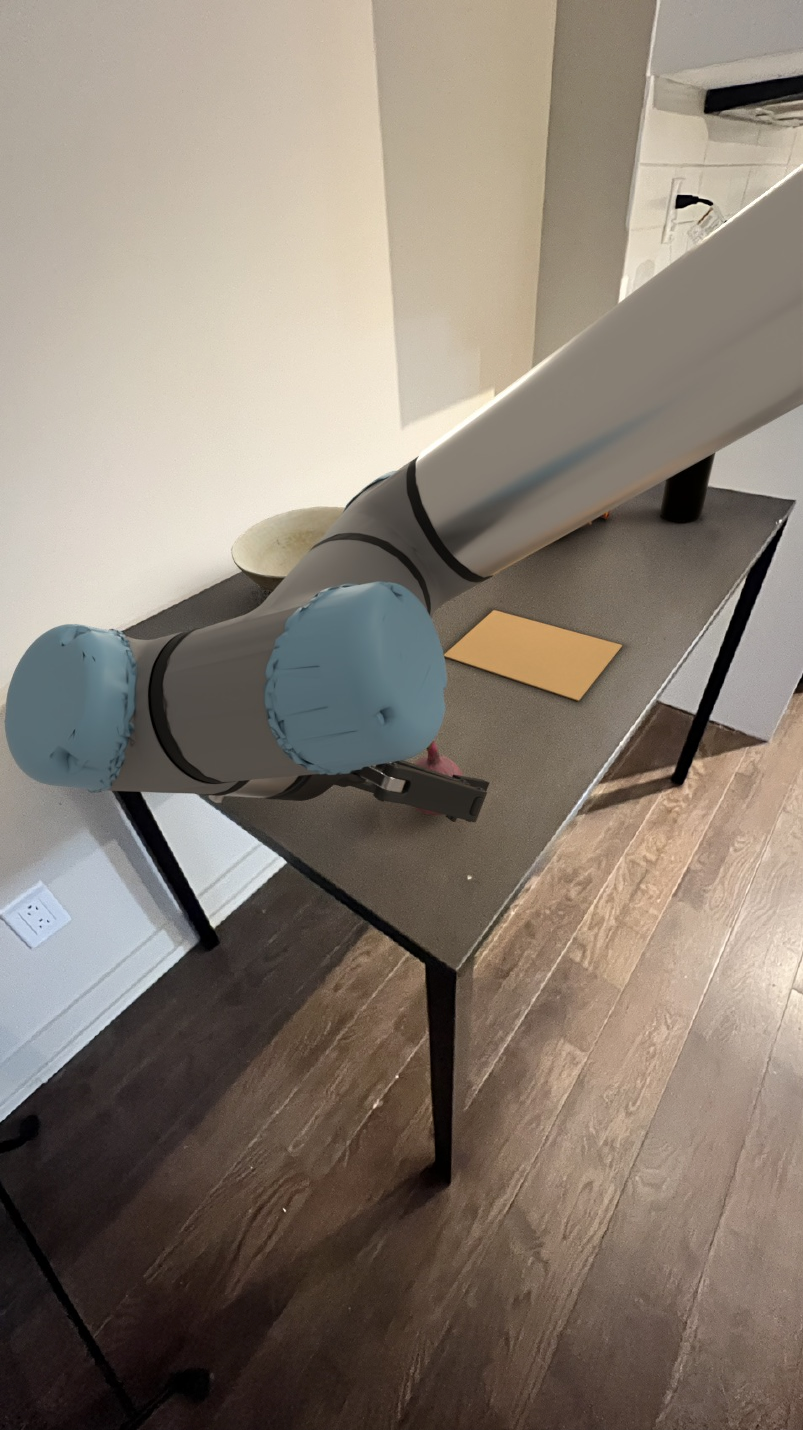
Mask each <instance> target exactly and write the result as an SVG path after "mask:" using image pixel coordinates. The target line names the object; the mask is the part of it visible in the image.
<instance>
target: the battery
mask: <svg viewBox="0 0 803 1430" xmlns="http://www.w3.org/2000/svg"><path fill="white" fill-rule="evenodd" d="M716 453H717V452H715V453H713V454H712V455H710V456H708V457H706V458H704V459H703V460H701V461H699V462H697V463H695V464H694V465H692V466H690V467H688V468H686V469H684V470H683V471H681V472H679V473H677V474H675V475H674V476H672V477H670V478H668V479H666V480H665V482H664V489H663V494H662V500H661V504H660V505H661V506H660V511H659V514H660V516H661V517H663V518H664V519H666V520H669V521H673V522H683V523H684V522H692V521H696V520H698V519H700V518H701V516H702V514H703V510H704V505H705V501H706V496H707V492H708V488H709V484H710V479H711V478H710V477H711V474H712V470H713V467H714V462H715V457H716Z"/></svg>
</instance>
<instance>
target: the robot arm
mask: <svg viewBox="0 0 803 1430" xmlns="http://www.w3.org/2000/svg"><path fill="white" fill-rule="evenodd" d="M800 406H803V163H802V164H801V165H800V166H799V167H797V168H795V169H794V170H793V171H792V172H790V173H789V174H788V175H787V176H785V177H784V178H783V179H781V180H780V181H778V182H777V183H776V184H774V185H773V186H772V187H771V188H769V189H768V190H766V191H765V192H764V193H763V194H761V195H760V196H759V197H757V198H756V199H754V200H753V201H752V202H751V203H750V204H748V205H747V206H745V207H744V208H742V209H741V210H739V212H738V213H736V214H735V215H733V217H731V218H729V219H728V220H727V221H725V222H724V223H723V224H722V225H720V226H719V227H718V228H716V229H715V230H714V231H712V232H711V233H709V234H708V235H707V236H705V238H703V239H701V240H700V241H699V242H697V243H696V244H695V245H694V246H693V247H691V248H690V249H688V250H687V251H686V252H684V253H683V254H682V255H680V256H679V257H677V258H676V259H675V260H674V261H673V262H671V263H670V264H669V265H666V267H664V268H663V269H662V270H661V271H659V272H658V273H657V274H656V275H654V276H652V277H651V278H650V279H649V280H647V281H646V282H645V283H644V284H642V285H641V286H639V287H638V288H637V289H636V290H634V291H633V292H632V293H630V294H629V295H628V296H626V297H625V298H624V299H622V300H620V302H618V303H617V304H616V305H614V306H613V307H612V308H610V309H609V310H608V311H606V312H605V313H604V314H602V315H601V316H600V317H598V318H597V319H596V320H594V321H593V322H591V324H589V325H588V326H587V327H585V328H584V329H583V330H581V331H580V332H578V333H577V334H576V335H575V336H573V337H572V338H570V339H568V341H566V342H565V343H564V344H563V345H561V346H560V347H559V348H557V349H556V350H554V352H552V353H551V354H549V355H548V356H546V357H545V358H544V359H543V360H541V361H540V362H538V363H537V364H536V365H535V366H533V367H532V368H531V369H529V370H528V371H527V372H525V373H524V374H523V375H521V376H520V377H519V378H518V379H516V380H515V381H514V382H512V383H511V384H509V385H508V386H507V387H506V388H504V389H503V390H501V391H500V392H499V393H498V394H496V395H495V396H494V397H492V398H491V399H490V400H489V401H487V402H486V403H484V404H483V405H482V406H481V407H479V408H478V409H476V410H475V411H474V412H473V413H471V414H470V415H468V416H467V417H466V418H464V419H463V420H462V421H460V422H459V423H458V424H457V425H455V426H454V427H453V428H451V429H450V430H449V431H447V432H446V433H445V434H443V435H442V436H441V437H439V438H438V439H437V440H435V441H434V442H433V443H432V444H430V445H428V446H427V447H426V448H424V449H423V450H422V451H420V453H419V455H418V456H416V457H415V458H413V459H411V460H410V461H408V463H405V464H404V465H403V466H402V467H400V468H399V469H398V470H392V471H388V472H387V473H384V474H382V475H380V476H379V477H378V478H376V479H374V480H373V481H371V482H370V483H369V484H367V485H366V486H364V487H363V488H362V489H361V490H360V491H359V492H358V493H357V494H356V495H354V496H353V497H352V498H351V499H350V500H349V501H348V502H347V503H346V505H345V507H344V508H345V509H344V511H343V513H342V514H341V516H340V517H339V518H338V519H337V521H336V522H335V523H334V524H333V525H332V526H331V528H330V529H329V530H328V531H327V532H326V533H325V535H324V536H323V537H322V538H321V539H320V541H319V542H318V543H317V544H316V545H314V546H313V547H312V549H311V550H310V551H309V552H308V553H307V554H306V555H305V556H304V557H303V558H302V559H301V560H300V562H299V563H298V564H297V565H296V566H295V567H294V568H293V569H292V571H291V572H290V573H289V574H288V575H287V576H286V577H285V578H284V580H283V581H282V582H281V583H280V584H279V585H278V586H277V587H276V588H275V590H274V591H273V592H270V594H269V595H267V598H266V599H265V600H264V601H263V602H262V603H261V604H260V605H258V607H256V608H254V609H253V610H251V611H249V612H248V613H245V614H243V615H240V616H237V617H234V618H231V619H228V620H223V621H221V622H217V623H215V624H211V625H208V626H201V627H196V628H193V629H188V630H185V631H184V630H183V631H180V632H177V633H173V634H169V635H165V636H161V637H157V638H154V639H137V638H132V637H131V636H127V635H126V634H125V633H124V632H123V631H121V630H118V629H115V628H109V629H105V628H100V627H95V626H88V625H84V624H79V623H65V624H61V625H58V626H56V627H53V628H50V629H48V630H47V631H45V632H44V633H42V634H41V635H40V636H38V637H37V638H35V640H34V641H33V642H32V643H31V644H30V645H29V647H28V648H27V649H26V650H25V652H24V653H23V655H22V657H21V658H20V659H19V661H18V663H17V665H16V667H15V669H14V671H13V674H12V675H11V676H12V677H11V680H10V682H9V686H8V689H7V692H6V699H5V713H4V714H5V715H4V720H3V721H4V732H5V739H6V742H7V746H8V749H9V752H10V754H11V756H12V758H13V760H14V762H15V764H16V765H17V767H18V768H19V769H20V770H21V771H22V772H23V773H24V774H25V775H26V776H27V777H29V778H31V779H33V780H34V781H35V782H37V783H40V784H43V785H47V786H55V787H62V788H63V787H64V788H73V789H82V790H86V791H88V792H89V793H90V794H99V793H102V792H107V791H111V792H136V793H138V792H140V793H156V794H157V793H159V794H160V793H162V794H188V795H189V794H190V795H191V794H193V795H203V796H208V799H209V800H210V801H211V802H214V803H216V804H222V803H223V802H224V801H225V800H226V799H225V798H226V797H240V798H257V799H266V800H273V801H274V800H276V801H293V802H295V801H296V802H301V801H302V802H303V801H310V800H312V799H313V800H314V799H316V798H317V797H319V796H321V795H323V794H324V793H326V792H327V791H328V790H329V789H331V788H332V787H333V786H337V787H340V788H347V787H352V788H355V789H359V790H362V791H365V792H368V793H371V794H372V796H373V798H375V799H376V800H378V801H379V802H383V803H384V802H387V803H395V804H402V805H406V806H410V807H413V808H415V807H417V808H421V809H425V810H429V811H432V812H436V813H440V814H441V815H444V816H445V818H446V819H448V820H449V821H451V822H452V823H456V822H457V820H458V819H460V820H464V821H466V822H468V823H476V822H477V820H478V818H479V815H480V813H481V810H482V807H483V806H484V805H483V804H484V802H485V799H486V797H487V795H488V788H489V786H490V782H489V781H487V780H485V779H482V778H477V777H471V776H466V775H463V776H460V775H454V774H453V776H452V777H450V776H448V775H445V774H442V773H439V772H436V771H433V770H430V769H427V768H424V767H421V766H418V765H415V764H413V763H412V762H409V761H408V760H409V759H413V758H414V757H417V756H418V755H419V754H421V753H423V752H424V751H425V750H427V749H426V748H427V747H428V746H429V745H430V744H431V743H432V741H433V740H434V741H435V739H436V737H438V733H439V731H440V730H441V727H442V725H443V721H444V717H445V714H446V701H445V695H444V693H445V692H444V691H445V690H446V689H447V686H448V674H447V666H446V659H445V657H444V654H445V653H444V650H443V646H442V642H441V639H440V636H439V634H438V632H437V629H436V627H435V624H434V620H433V617H434V615H435V613H436V611H437V610H438V609H439V608H440V607H441V606H443V605H444V604H446V603H448V602H450V601H451V600H453V599H455V598H456V597H458V596H460V595H462V594H463V593H465V592H467V591H469V590H471V589H473V588H475V587H476V586H479V585H480V584H482V583H484V582H485V581H487V580H489V579H490V578H493V577H494V575H496V574H498V573H499V572H501V571H503V570H505V569H507V568H509V567H510V566H513V565H514V564H515V563H516V564H517V563H518V562H519V561H521V560H523V559H525V558H527V557H529V556H531V555H532V554H534V553H536V552H538V551H539V550H542V549H543V548H545V547H546V546H549V545H550V544H552V543H554V542H556V541H559V540H560V539H561V538H563V537H565V536H567V535H568V534H571V533H572V532H574V531H576V530H578V529H579V527H580V528H582V527H581V526H583V525H585V524H587V523H588V522H590V521H591V522H593V521H594V520H596V519H597V518H599V517H601V515H603V514H605V513H607V512H608V511H610V512H611V511H612V510H614V509H616V508H617V507H619V506H621V505H623V504H625V503H626V502H628V501H630V500H632V499H634V498H637V496H639V495H641V494H643V493H645V492H646V491H648V490H650V489H652V488H654V487H655V486H658V485H659V484H661V483H663V482H666V479H668V478H670V477H672V476H674V475H675V474H677V473H679V472H681V471H683V470H684V469H686V468H688V467H690V466H692V465H694V464H695V463H697V462H699V461H701V460H703V459H704V458H706V457H708V456H710V455H712V454H713V453H715V452H716V453H717V452H719V451H721V450H723V449H724V448H726V447H728V446H729V445H731V444H733V443H735V442H737V441H739V440H741V439H742V438H744V437H746V436H747V435H750V434H751V433H753V432H755V431H758V430H759V429H761V428H762V427H764V426H766V425H768V424H769V423H771V422H773V421H775V420H777V419H779V418H781V417H782V416H785V415H786V414H788V413H790V412H791V411H793V410H795V409H797V408H799V407H800ZM716 453H715V454H716ZM406 760H407V761H406Z"/></svg>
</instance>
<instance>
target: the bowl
mask: <svg viewBox="0 0 803 1430" xmlns="http://www.w3.org/2000/svg"><path fill="white" fill-rule="evenodd" d="M344 509H345V507H341V506H340V507H338V506H312V507H304V508H303V507H302V508H298V509H293V510H289V511H286V512H281V513H278V514H276V515H273V516H271V517H268V518H266V519H263V520H260V521H259V522H257V523H256V524H253V525H252V526H251V527H249V528H248V529H246V530H245V531H244V532H243V533H241V535H239V537H238V538H237V539H236V540H235V541H234V543H233V544H232V546H231V548H230V552H231V557H232V558H231V559H232V561H233V562H234V565H236V567H237V568H238V569H239V570H240V571H241V572H242V573H243V574H244V575H245V576H247V577H248V578H249V579H250V580H251V581H253V582H254V583H255V584H257V585H258V586H259V587H260V588H262V589H264V590H266V591H268V592H270V593H272V592H273V591H274V590H275V588H276V587H277V586H278V585H279V584H280V583H281V582H282V581H283V580H284V578H285V577H286V576H287V575H288V574H289V573H290V572H291V571H292V569H293V568H294V567H295V566H296V565H297V564H298V563H299V562H300V560H301V559H302V558H303V557H304V556H305V555H306V554H307V553H308V552H309V551H310V550H311V549H312V547H313V546H314V545H316V544H317V543H318V542H319V541H320V539H321V538H322V537H323V536H324V535H325V533H326V532H327V531H328V530H329V529H330V528H331V526H332V525H333V524H334V523H335V522H336V521H337V519H338V518H339V517H340V516H341V514H342V513H343V511H344Z"/></svg>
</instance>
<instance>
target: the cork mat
mask: <svg viewBox="0 0 803 1430" xmlns="http://www.w3.org/2000/svg"><path fill="white" fill-rule="evenodd" d="M622 647H623V644H619V643H616V642H613V641H609V640H605V639H601V638H598V637H594V636H590V635H587V634H583V633H579V632H576V631H573V630H570V629H566V628H565V629H564V628H561V627H558V626H554V625H550V624H547V623H544V622H543V623H542V622H540V621H536V620H532V619H528V618H525V617H522V616H518V615H514V614H511V613H506V612H503V611H499V610H496V609H493V610H492V611H490V613H489V614H488V615H487V616H485V617H484V618H483V619H481V621H480V622H478V623H477V624H476V625H475V626H474V627H473V628H472V629H471V630H469V632H467V633H466V634H465V635H464V636H463V637H462V638H461V639H460V640H458V641H457V642H456V643H455V644H454V645H453V646H452V647H451V648H450V649H448V650H447V652H445V653H443V654H444V658H447V659H450V660H453V661H456V662H458V663H462V664H465V665H468V666H472V667H474V668H478V669H480V670H483V671H486V672H490V673H491V674H494V675H498V676H501V677H504V678H506V679H507V678H508V679H510V680H512V681H516V682H519V683H522V684H526V685H528V686H531V687H535V688H536V689H541V690H544V691H546V692H549V693H552V694H555V695H558V696H561V697H564V698H567V699H570V700H574V701H576V702H579V701H580V700H581V699H582V698H583V697H584V695H585V694H586V693H587V691H588V690H589V689H590V688H591V687H592V685H593V684H594V682H595V681H596V680H597V679H598V678H599V676H600V675H601V674H602V673H603V671H604V670H605V668H606V667H607V666H608V665H609V664H610V662H611V661H613V658H614V657H615V656H616V654H617V653H618V652H619V650H620V649H622Z"/></svg>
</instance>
